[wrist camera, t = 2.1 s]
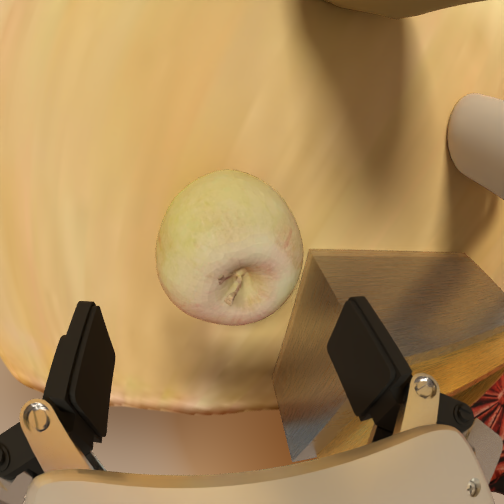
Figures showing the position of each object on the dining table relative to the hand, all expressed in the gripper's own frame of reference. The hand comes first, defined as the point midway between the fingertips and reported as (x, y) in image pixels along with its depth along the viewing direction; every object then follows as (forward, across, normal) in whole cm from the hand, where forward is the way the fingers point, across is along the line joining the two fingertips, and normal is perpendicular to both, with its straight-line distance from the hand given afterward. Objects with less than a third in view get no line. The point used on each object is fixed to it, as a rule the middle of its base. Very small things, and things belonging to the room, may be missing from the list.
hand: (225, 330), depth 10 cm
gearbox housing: (+8, -16, +10) cm, 20 cm away
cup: (+8, -21, -9) cm, 24 cm away
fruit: (+9, -1, 0) cm, 9 cm away
